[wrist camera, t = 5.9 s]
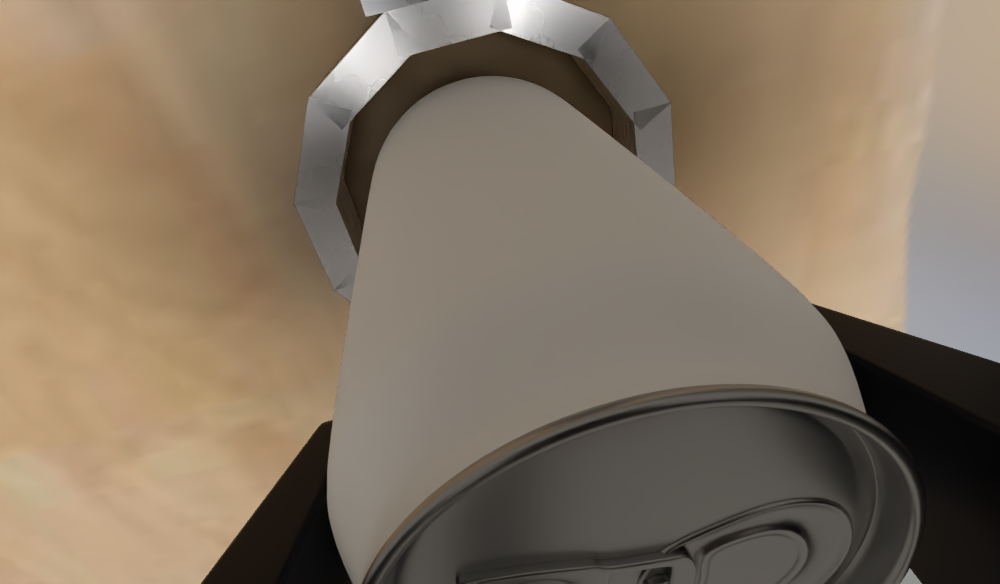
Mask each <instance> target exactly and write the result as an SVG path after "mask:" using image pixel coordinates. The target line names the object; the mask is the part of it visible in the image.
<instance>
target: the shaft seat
mask: <svg viewBox="0 0 1000 584" xmlns="http://www.w3.org/2000/svg"><path fill="white" fill-rule="evenodd" d="M360 1H361V4H362V7H363V10H364V13H365V16H366V17H369V16H372V15H376V14H380V13H381V14H380V15H379V16H378V17H377V18H376V19H375V20H374V22H373V23H372V24H371V25H370V26H369V27H368V28H367V30H366V31H365V32H364V33H363V34H362V35H361V36H360V38H359V39H358V40H357V41H356V42H355V43H354V44H353V46H352V47H351V48H350V49H349V50H348V51H347V52H346V54H345V55H344V56H343V57H342V58H341V59H340V61H339V62H338V63H337V64H336V65H335V66H334V67H333V69H332V70H331V71H330V72H329V73H328V74H327V75H326V77H325V78H324V79H323V80H322V81H321V82H320V83H319V85H318V86H317V87H316V89H315V90H314V91H313V93H312V94H311V95H310V97H309V98H308V103H307V111H306V118H305V126H304V133H303V141H302V148H301V156H300V163H299V170H298V178H297V185H296V193H295V200H294V205H295V207H296V209H297V211H298V214H299V216H300V218H301V220H302V222H303V225H304V227H305V229H306V231H307V233H308V235H309V238H310V240H311V242H312V244H313V246H314V248H315V251H316V253H317V255H318V257H319V259H320V261H321V264H322V266H323V268H324V270H325V272H326V274H327V277H328V279H329V281H330V283H331V285H332V287H333V290H334V291H336V292H337V293H338V294H340V295H341V296H343V297H344V298H345V299H347V300H348V301H350V302H351V300H352V293H353V287H354V281H355V275H356V269H357V263H358V257H359V251H360V245H361V239H362V233H363V226H362V223H361V221H360V218H359V216H358V213H357V210H356V208H355V205H354V203H353V200H352V198H351V195H350V193H349V190H348V188H347V185H346V183H345V180H344V178H343V177H344V172H345V166H346V160H347V155H348V149H349V143H350V137H351V132H352V126H353V120H354V117H355V115H356V114H357V113H358V112H359V111H360V110H361V109H362V108H363V107H364V106H365V105H366V103H367V102H368V101H369V100H370V99H371V98H372V97H373V96H374V95H375V94H376V93H377V91H378V90H379V89H380V88H381V87H382V86H383V85H384V84H385V83H386V82H387V80H388V79H389V78H390V77H391V76H392V75H393V74H394V73H395V72H396V71H397V70H398V68H399V67H400V66H401V65H402V64H403V63H404V62H405V61H406V60H407V59H408V58H409V56H410V55H413V54H416V53H420V52H424V51H428V50H431V49H435V48H439V47H443V46H446V45H450V44H454V43H458V42H461V41H465V40H469V39H472V38H476V37H480V36H484V35H487V34H491V33H495V32H499V31H502V32H505V33H508V34H511V35H514V36H517V37H520V38H523V39H526V40H529V41H532V42H535V43H538V44H541V45H544V46H547V47H550V48H553V49H557V50H560V51H563V52H566V53H569V55H570V56H571V57H572V58H573V60H574V61H575V62H576V64H577V65H578V66H579V67H580V69H581V70H582V71H583V72H584V74H585V75H586V76H587V78H588V79H589V80H590V81H591V83H592V84H593V85H594V86H595V88H596V89H597V90H598V92H599V93H600V94H601V95H602V97H603V98H604V99H605V100H606V102H607V103H608V104H609V106H610V111H611V120H612V129H613V138H614V139H615V140H616V141H617V142H619V143H620V144H621V145H622V146H624V147H625V148H626V149H627V150H629V151H630V152H631V153H632V154H634V155H635V156H636V157H637V158H639V159H640V160H641V161H642V162H644V163H645V164H646V165H647V166H649V167H650V168H651V169H652V170H654V171H655V172H656V173H657V174H659V175H660V176H661V177H662V178H664V179H665V180H666V181H667V182H669V183H670V184H671V185H672V186H674V187H675V173H674V155H673V136H672V117H671V102H670V101H669V99H668V98H667V97H666V95H665V94H664V92H663V91H662V90H661V88H660V87H659V85H658V84H657V83H656V81H655V80H654V78H653V77H652V76H651V74H650V73H649V71H648V70H647V69H646V67H645V66H644V64H643V63H642V62H641V60H640V59H639V57H638V56H637V55H636V53H635V52H634V50H633V49H632V48H631V46H630V45H629V43H628V42H627V41H626V39H625V38H624V36H623V35H622V34H621V32H620V31H619V29H618V28H617V27H616V25H615V24H614V22H613V21H612V20H611V18H609V17H606V16H603V15H600V14H598V13H595V12H592V11H589V10H587V9H584V8H581V7H578V6H575V5H573V4H570V3H567V2H564V1H561V0H360Z"/></svg>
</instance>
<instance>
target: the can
mask: <svg viewBox="0 0 1000 584" xmlns="http://www.w3.org/2000/svg"><path fill="white" fill-rule="evenodd" d="M327 507H328V514H329V520H330V525H331V529H332V532H333V536H334V539H335V543H336V546H337V548H338V551H339V553H340V556H341V559H342V561H343V564H344V566H345V568H346V571H347V573H348V575H349V577H350V580H351V582H352V584H900V583H901V582H902V580H903V578H904V577H905V575H906V573H907V572H908V570H909V568H910V566H911V564H912V562H913V560H914V558H915V556H916V554H917V551H918V549H919V546H920V543H921V540H922V536H923V532H924V528H925V522H926V510H927V504H926V492H925V487H924V483H923V479H922V476H921V473H920V471H919V469H918V466H917V464H916V462H915V461H914V459H913V457H912V456H911V454H910V453H909V451H908V450H907V448H906V447H905V446H904V445H903V443H902V442H901V441H900V440H899V439H898V438H897V437H896V436H895V435H894V434H893V433H892V432H891V431H890V430H888V429H887V428H886V427H885V426H884V425H882V424H881V423H879V422H878V421H877V420H875V419H874V418H872V417H870V416H869V415H867V414H866V411H865V407H864V404H863V400H862V397H861V393H860V390H859V387H858V384H857V380H856V378H855V375H854V372H853V369H852V367H851V364H850V361H849V359H848V357H847V355H846V352H845V350H844V348H843V346H842V344H841V342H840V340H839V339H838V337H837V335H836V333H835V332H834V330H833V329H832V327H831V326H830V324H829V323H828V322H827V321H826V319H825V318H824V317H823V316H822V315H821V314H820V312H819V311H818V310H817V309H816V308H815V307H814V306H813V305H812V304H811V303H810V302H809V301H808V299H807V298H806V297H805V296H804V295H803V294H802V293H801V292H800V291H799V290H798V289H797V288H795V287H794V286H793V285H792V284H791V283H790V282H789V281H787V280H786V279H785V278H784V277H783V276H782V275H781V274H779V273H778V272H777V271H776V270H775V269H774V268H773V267H771V266H770V265H769V264H768V263H767V262H766V261H764V260H763V259H762V258H761V257H760V256H758V255H757V254H756V253H755V252H754V251H752V250H751V249H750V248H749V247H747V246H746V245H745V244H744V243H743V242H741V241H740V240H739V239H738V238H736V237H735V236H734V235H733V234H732V233H730V232H729V231H728V230H727V229H726V228H724V227H723V226H722V225H721V224H719V223H718V222H717V221H716V220H715V219H713V218H712V217H711V216H710V215H708V214H707V213H706V212H705V211H703V210H702V209H701V208H700V207H698V206H697V205H696V204H695V203H693V202H692V201H691V200H690V199H689V198H687V197H686V196H685V195H684V194H682V193H681V192H680V191H679V190H677V189H676V188H675V187H674V186H672V185H671V184H670V183H669V182H667V181H666V180H665V179H664V178H662V177H661V176H660V175H659V174H657V173H656V172H655V171H654V170H652V169H651V168H650V167H649V166H647V165H646V164H645V163H644V162H642V161H641V160H640V159H639V158H637V157H636V156H635V155H634V154H632V153H631V152H630V151H629V150H627V149H626V148H625V147H624V146H622V145H621V144H620V143H619V142H617V141H616V140H615V139H614V138H612V137H611V136H610V135H608V134H607V133H606V132H605V131H603V130H602V129H601V128H600V127H598V126H597V125H596V124H595V123H593V122H592V121H591V120H589V119H588V118H587V117H586V116H584V115H583V114H582V113H580V112H579V111H578V110H577V109H575V108H574V107H573V106H571V105H570V104H569V103H567V102H566V101H564V100H563V99H562V98H560V97H559V96H557V95H556V94H554V93H552V92H551V91H549V90H547V89H545V88H543V87H541V86H539V85H536V84H534V83H531V82H528V81H525V80H521V79H517V78H512V77H504V76H480V77H473V78H467V79H463V80H459V81H456V82H453V83H450V84H447V85H445V86H443V87H441V88H438V89H436V90H435V91H433V92H431V93H429V94H428V95H426V96H425V97H423V98H422V99H420V100H419V101H418V102H416V103H415V104H414V105H413V106H412V107H411V108H409V109H408V110H407V111H406V112H405V113H404V114H403V115H402V117H401V118H400V119H399V120H398V121H397V123H396V124H395V125H394V127H393V128H392V129H391V131H390V133H389V134H388V136H387V138H386V140H385V141H384V143H383V146H382V148H381V150H380V152H379V155H378V158H377V161H376V164H375V168H374V172H373V177H372V182H371V187H370V192H369V198H368V203H367V209H366V215H365V221H364V227H363V233H362V239H361V245H360V251H359V257H358V263H357V269H356V275H355V281H354V287H353V293H352V300H351V306H350V312H349V318H348V325H347V331H346V337H345V344H344V350H343V356H342V363H341V369H340V376H339V382H338V389H337V396H336V403H335V409H334V416H333V423H332V431H331V439H330V448H329V456H328V467H327Z"/></svg>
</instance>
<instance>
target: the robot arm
mask: <svg viewBox="0 0 1000 584" xmlns="http://www.w3.org/2000/svg"><path fill="white" fill-rule="evenodd" d="M812 305H813V306H814V307H815V308H816V309H817V310H818V311H819V312H820V314H821V315H822V316H823V317H824V318H825V319H826V321H827V322H828V323H829V324H830V326H831V327H832V329H833V330H834V332H835V333H836V335H837V337H838V339H839V340H840V342H841V344H842V346H843V348H844V350H845V352H846V355H847V357H848V359H849V361H850V364H851V367H852V369H853V372H854V375H855V378H856V380H857V384H858V387H859V390H860V393H861V397H862V400H863V404H864V407H865V411H866V414H867V415H869V416H870V417H872V418H874V419H875V420H877V421H878V422H879V423H881V424H882V425H884V426H885V427H886V428H887V429H888V430H890V431H891V432H892V433H893V434H894V435H895V436H896V437H897V438H898V439H899V440H900V441H901V442H902V443H903V445H904V446H905V447H906V448H907V450H908V451H909V453H910V454H911V456H912V457H913V459H914V461H915V462H916V464H917V466H918V469H919V471H920V473H921V476H922V479H923V483H924V487H925V492H926V504H927V510H926V522H925V528H924V532H923V536H922V540H921V543H920V546H919V549H918V551H917V554H916V556H915V558H914V560H913V562H912V564H911V566H910V569H911V570H912V571H913V572H914V574H915V575H916V576H917V578H918V579H919V580H920V582H921V583H922V584H1000V363H997V362H994V361H991V360H988V359H985V358H982V357H979V356H976V355H972V354H969V353H966V352H963V351H960V350H957V349H953V348H950V347H947V346H944V345H941V344H937V343H934V342H931V341H928V340H925V339H922V338H918V337H915V336H912V335H909V334H906V333H903V332H900V331H897V330H893V329H890V328H887V327H884V326H881V325H878V324H874V323H871V322H868V321H865V320H862V319H859V318H855V317H852V316H849V315H846V314H843V313H840V312H837V311H833V310H830V309H827V308H824V307H821V306H818V305H814V304H812ZM332 423H333V420H331V421H327V422H324V423H322V424H321V425H320V426H319V427H318V428H317V430H316V431H315V432H314V434H313V435H312V436H311V438H310V439H309V440H308V442H307V443H306V444H305V446H304V447H303V448H302V450H301V451H300V452H299V454H298V455H297V456H296V458H295V459H294V460H293V462H292V463H291V464H290V466H289V467H288V468H287V470H286V471H285V472H284V474H283V475H282V476H281V478H280V479H279V480H278V482H277V483H276V484H275V486H274V487H273V488H272V490H271V491H270V492H269V494H268V495H267V496H266V498H265V499H264V500H263V502H262V503H261V504H260V506H259V507H258V508H257V510H256V511H255V512H254V514H253V515H252V516H251V518H250V519H249V520H248V522H247V523H246V524H245V526H244V527H243V528H242V530H241V531H240V532H239V534H238V535H237V536H236V538H235V539H234V540H233V542H232V543H231V544H230V546H229V547H228V548H227V550H226V551H225V552H224V554H223V555H222V556H221V558H220V559H219V560H218V562H217V563H216V564H215V566H214V567H213V568H212V570H211V571H210V572H209V574H208V575H207V576H206V578H205V579H204V580H203V582H202V583H201V584H352V582H351V580H350V577H349V575H348V573H347V571H346V568H345V566H344V564H343V561H342V559H341V556H340V553H339V551H338V548H337V546H336V543H335V539H334V536H333V532H332V529H331V525H330V520H329V514H328V507H327V467H328V456H329V448H330V439H331V431H332Z"/></svg>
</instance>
